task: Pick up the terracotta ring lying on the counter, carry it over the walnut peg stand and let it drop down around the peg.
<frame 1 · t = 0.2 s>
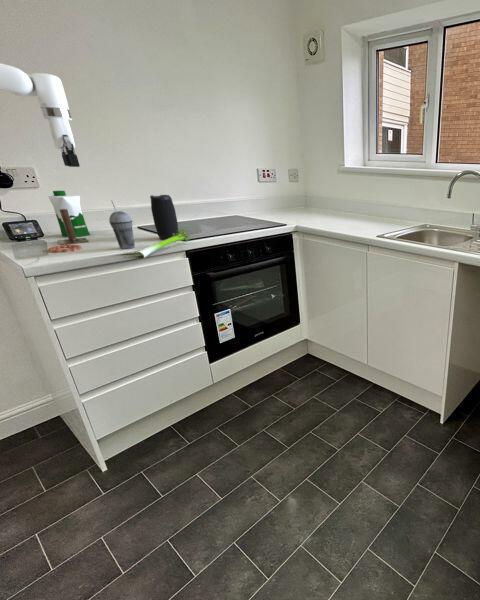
hand: (72, 166, 130), 32 cm above the countertop, tool pointing down, fingers open, 9 cm apart
portable speaker: (169, 238, 165), on the countertop
leek: (166, 249, 146), on the countertop
peg stand: (74, 244, 149), on the countertop
milk carton: (76, 235, 164), on the countertop
beverage cup: (128, 250, 142), on the countertop
ring: (64, 249, 136), point 1 cm above the countertop
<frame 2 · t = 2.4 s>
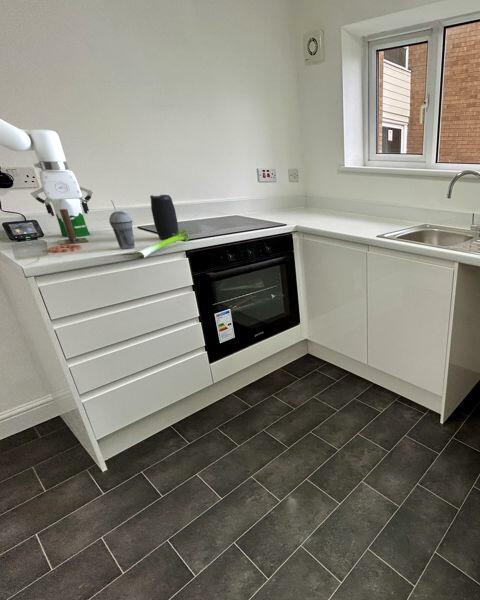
hand: (69, 214, 134), 14 cm above the countertop, tool pointing down, fingers open, 9 cm apart
nothing on the countertop moved.
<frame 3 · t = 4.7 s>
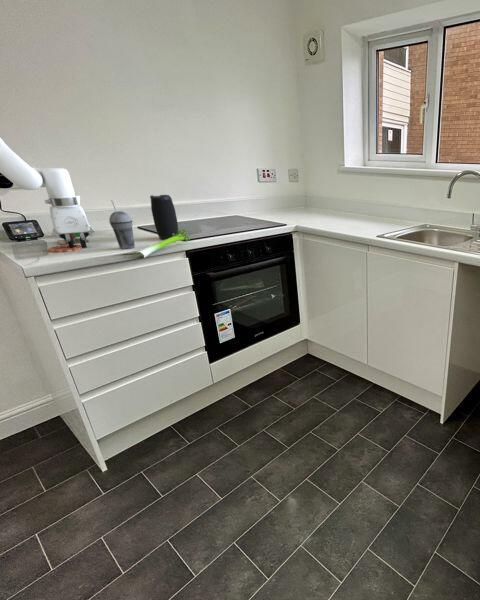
hand: (78, 249, 139), 0 cm above the countertop, tool pointing down, fingers closed on ring, 2 cm apart
ring: (65, 249, 136), point 1 cm above the countertop, touching gripper
everything else where it was.
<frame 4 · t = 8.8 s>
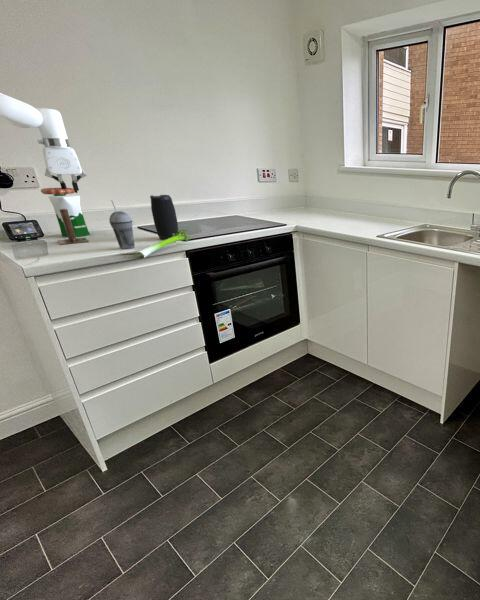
hand: (71, 192, 144), 21 cm above the countertop, tool pointing down, fingers closed on ring
ring: (58, 191, 141), point 22 cm above the countertop, touching gripper
everything else where it was.
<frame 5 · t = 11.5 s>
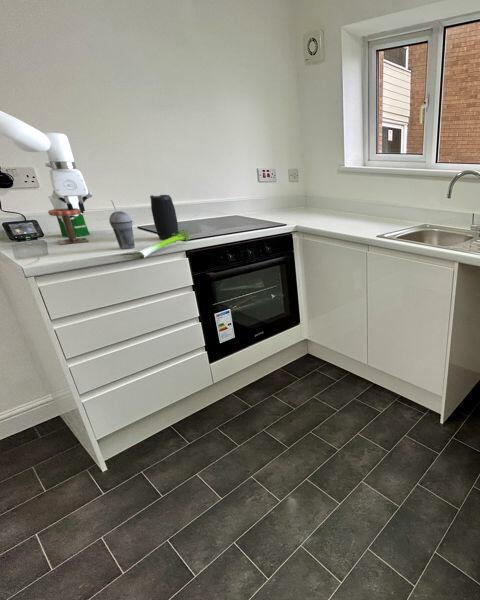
hand: (77, 212, 147), 13 cm above the countertop, tool pointing down, fingers closed on ring
ring: (65, 212, 144), point 13 cm above the countertop, touching gripper
everything else where it was.
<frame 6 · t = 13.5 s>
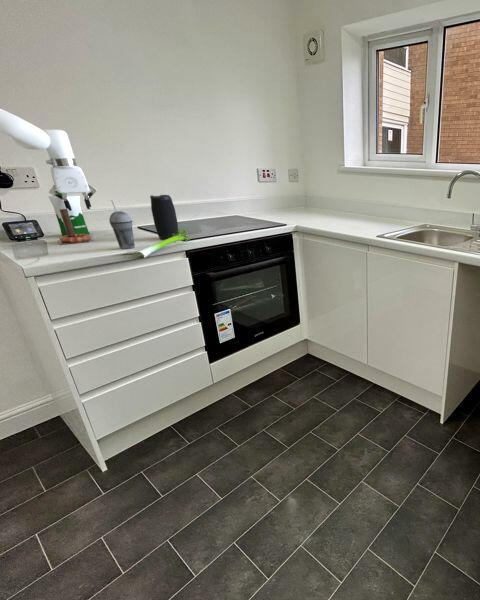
hand: (79, 209, 147), 14 cm above the countertop, tool pointing down, fingers open, 5 cm apart
ring: (75, 238, 149), point 2 cm above the countertop, touching peg stand
everything else where it was.
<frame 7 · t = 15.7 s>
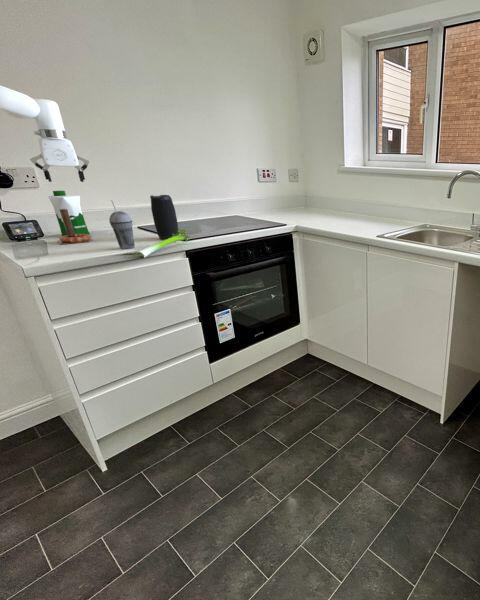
hand: (66, 181, 142), 25 cm above the countertop, tool pointing down, fingers open, 9 cm apart
nothing on the countertop moved.
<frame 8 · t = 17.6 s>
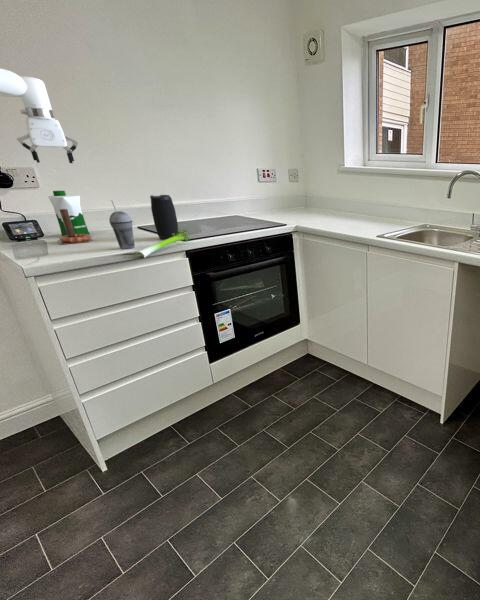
hand: (55, 162, 140), 32 cm above the countertop, tool pointing down, fingers open, 9 cm apart
nothing on the countertop moved.
at the end: ring 1.1 cm from the peg stand (horizontally); ring point 2.5 cm above the countertop; the gripper is holding nothing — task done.
